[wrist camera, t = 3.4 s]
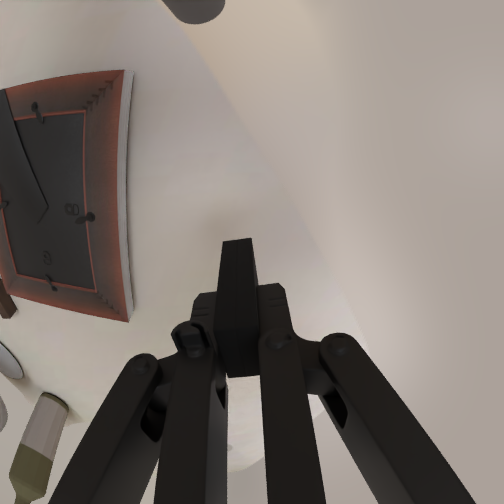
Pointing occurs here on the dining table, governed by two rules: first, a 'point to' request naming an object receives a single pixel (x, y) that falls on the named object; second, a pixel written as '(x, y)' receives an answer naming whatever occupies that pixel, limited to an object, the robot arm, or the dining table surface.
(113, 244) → the picture frame
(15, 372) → the chalice
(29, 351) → the dining table surface
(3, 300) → the walnut rail
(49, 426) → the bottle
